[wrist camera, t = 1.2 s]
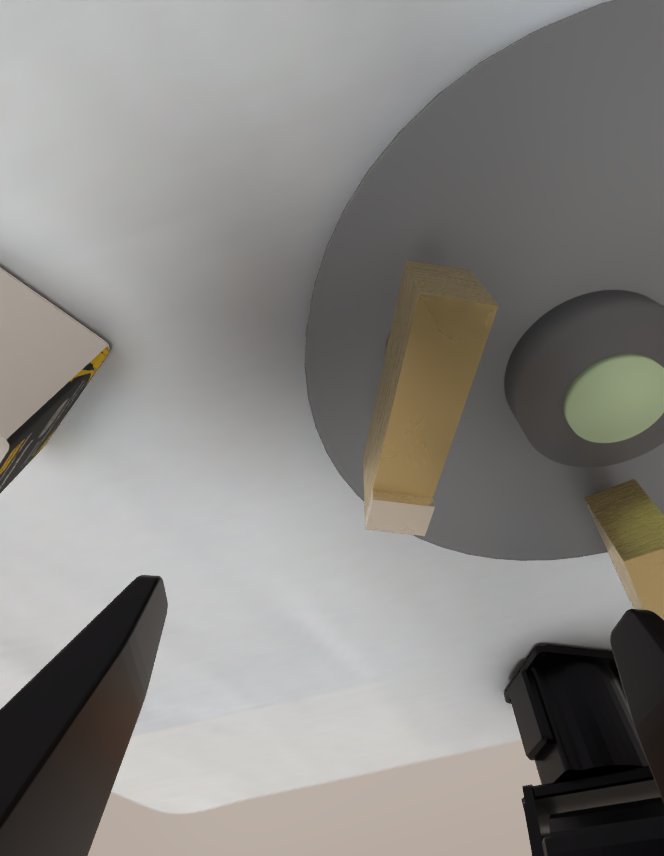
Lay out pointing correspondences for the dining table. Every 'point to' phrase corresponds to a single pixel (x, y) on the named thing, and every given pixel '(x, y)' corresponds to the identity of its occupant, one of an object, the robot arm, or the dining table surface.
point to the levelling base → (520, 282)
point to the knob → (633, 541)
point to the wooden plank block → (422, 392)
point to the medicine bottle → (38, 371)
